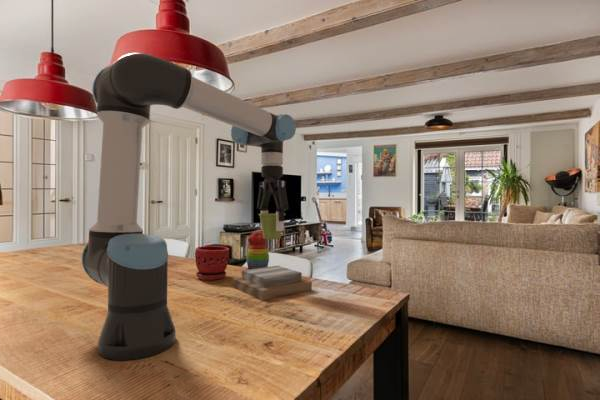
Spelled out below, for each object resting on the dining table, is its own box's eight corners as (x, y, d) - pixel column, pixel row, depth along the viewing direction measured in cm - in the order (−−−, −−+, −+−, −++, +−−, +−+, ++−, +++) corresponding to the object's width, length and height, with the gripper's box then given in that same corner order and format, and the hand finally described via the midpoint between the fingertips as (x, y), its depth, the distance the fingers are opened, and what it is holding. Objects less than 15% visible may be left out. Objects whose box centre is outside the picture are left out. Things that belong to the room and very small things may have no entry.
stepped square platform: (311, 290, 120) (311, 272, 120) (261, 300, 108) (261, 281, 108) (279, 279, 136) (279, 263, 136) (232, 286, 124) (232, 270, 124)
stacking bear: (251, 270, 152) (251, 229, 152) (273, 271, 149) (273, 230, 149) (240, 275, 142) (240, 231, 142) (262, 277, 139) (262, 232, 139)
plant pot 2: (255, 239, 118) (255, 214, 117) (262, 236, 127) (262, 213, 127) (282, 240, 116) (282, 214, 116) (287, 237, 126) (287, 213, 125)
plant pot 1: (211, 283, 129) (211, 251, 129) (188, 278, 136) (188, 247, 136) (236, 276, 140) (236, 246, 140) (213, 272, 147) (213, 244, 147)
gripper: (299, 164, 115) (299, 231, 115) (264, 168, 132) (264, 226, 133) (280, 162, 110) (280, 233, 110) (247, 167, 128) (247, 227, 128)
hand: (271, 229), depth 122 cm, fingers closed on plant pot 2, 9 cm apart
